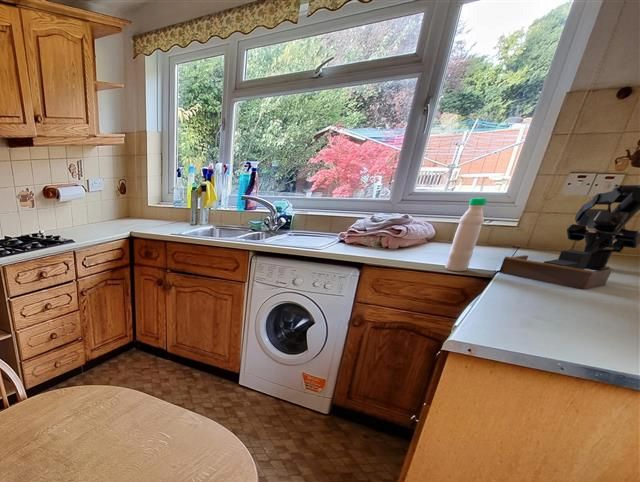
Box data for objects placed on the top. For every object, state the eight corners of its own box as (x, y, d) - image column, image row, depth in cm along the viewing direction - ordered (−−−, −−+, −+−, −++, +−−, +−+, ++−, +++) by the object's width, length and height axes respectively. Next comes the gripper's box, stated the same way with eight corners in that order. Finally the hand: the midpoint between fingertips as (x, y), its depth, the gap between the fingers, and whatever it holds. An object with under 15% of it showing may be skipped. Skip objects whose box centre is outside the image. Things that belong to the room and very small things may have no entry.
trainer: (560, 272, 156) (570, 249, 152) (581, 276, 150) (592, 252, 147) (536, 276, 152) (546, 253, 148) (558, 280, 146) (569, 256, 143)
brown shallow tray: (519, 268, 162) (525, 253, 159) (604, 284, 141) (613, 267, 138) (498, 272, 158) (504, 256, 155) (583, 289, 137) (591, 271, 135)
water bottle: (460, 272, 159) (484, 199, 147) (440, 269, 164) (462, 198, 153) (470, 270, 162) (495, 198, 150) (451, 266, 167) (473, 196, 155)
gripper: (582, 199, 152) (549, 235, 153) (655, 204, 136) (618, 244, 138) (584, 221, 158) (553, 255, 160) (655, 228, 143) (619, 265, 144)
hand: (584, 254), depth 150 cm, fingers closed
